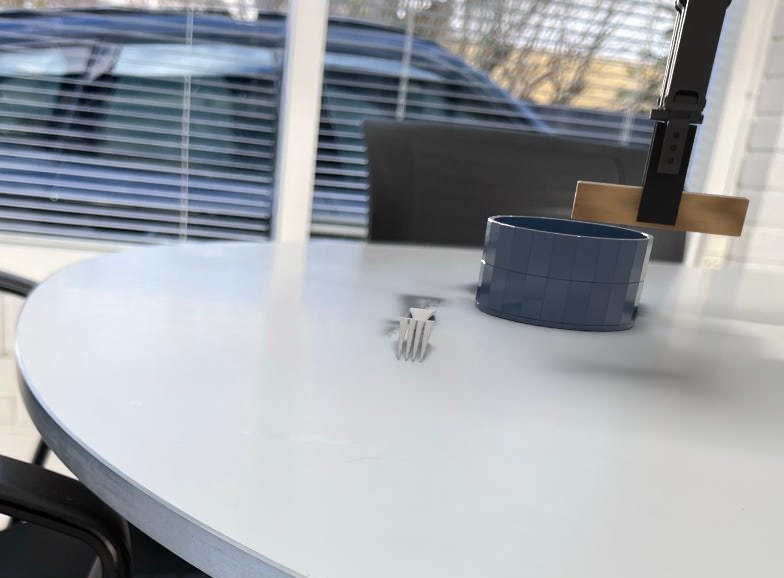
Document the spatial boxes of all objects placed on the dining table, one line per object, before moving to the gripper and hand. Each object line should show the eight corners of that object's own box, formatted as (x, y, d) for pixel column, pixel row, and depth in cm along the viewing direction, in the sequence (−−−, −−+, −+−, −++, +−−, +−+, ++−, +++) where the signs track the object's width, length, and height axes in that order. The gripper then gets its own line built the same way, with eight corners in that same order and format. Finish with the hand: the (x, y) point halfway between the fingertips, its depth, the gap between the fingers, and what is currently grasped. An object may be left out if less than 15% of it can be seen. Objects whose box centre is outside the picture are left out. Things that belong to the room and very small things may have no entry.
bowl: (632, 311, 109) (650, 229, 105) (635, 338, 96) (656, 245, 92) (483, 292, 112) (496, 211, 108) (466, 316, 98) (480, 224, 95)
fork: (434, 340, 99) (438, 309, 98) (428, 362, 79) (433, 324, 78) (404, 336, 99) (408, 306, 98) (391, 358, 80) (395, 320, 79)
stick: (736, 234, 78) (746, 197, 77) (740, 237, 76) (750, 199, 75) (571, 216, 80) (578, 180, 79) (570, 218, 78) (577, 182, 77)
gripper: (672, -151, 74) (602, 208, 85) (688, -210, 61) (602, 225, 72) (784, -147, 73) (698, 218, 84) (825, -205, 59) (717, 237, 70)
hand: (654, 220), depth 78 cm, fingers closed on stick, 2 cm apart
